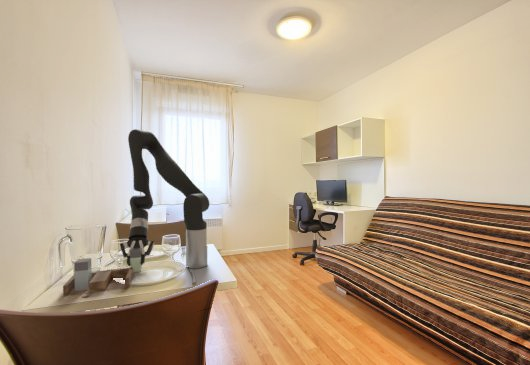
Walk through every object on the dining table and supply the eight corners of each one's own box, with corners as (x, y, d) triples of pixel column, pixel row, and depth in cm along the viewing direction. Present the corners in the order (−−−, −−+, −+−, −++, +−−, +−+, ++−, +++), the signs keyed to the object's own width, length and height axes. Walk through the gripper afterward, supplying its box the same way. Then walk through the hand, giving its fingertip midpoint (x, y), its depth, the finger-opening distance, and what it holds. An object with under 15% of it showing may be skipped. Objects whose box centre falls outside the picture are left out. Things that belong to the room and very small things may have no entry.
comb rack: (133, 278, 102) (133, 267, 102) (129, 290, 91) (128, 277, 91) (75, 285, 95) (75, 273, 95) (63, 299, 85) (63, 285, 85)
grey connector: (91, 284, 93) (91, 258, 93) (88, 289, 90) (87, 261, 89) (78, 286, 92) (78, 259, 92) (74, 291, 88) (74, 262, 88)
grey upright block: (142, 270, 110) (141, 247, 110) (140, 273, 107) (140, 250, 106) (131, 271, 109) (131, 248, 109) (130, 274, 105) (130, 251, 105)
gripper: (120, 226, 112) (114, 262, 101) (155, 224, 117) (153, 258, 106) (122, 235, 117) (117, 271, 106) (156, 233, 122) (154, 266, 111)
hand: (135, 264), depth 106 cm, fingers closed on grey upright block, 4 cm apart
